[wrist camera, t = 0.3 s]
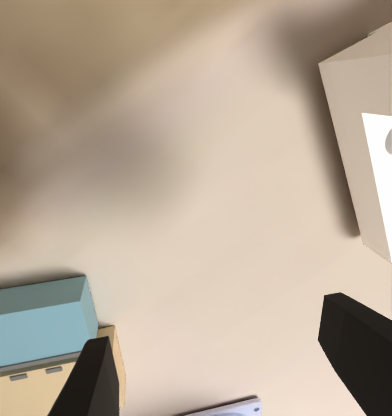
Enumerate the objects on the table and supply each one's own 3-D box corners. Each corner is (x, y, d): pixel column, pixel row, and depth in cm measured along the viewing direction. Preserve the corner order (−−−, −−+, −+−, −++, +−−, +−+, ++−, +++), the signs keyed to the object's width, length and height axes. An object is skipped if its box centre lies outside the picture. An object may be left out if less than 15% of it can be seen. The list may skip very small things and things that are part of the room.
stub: (98, 324, 20) (94, 354, 18) (3, 341, 19) (-15, 376, 17) (86, 275, 18) (79, 302, 16) (-18, 292, 17) (-41, 323, 15)
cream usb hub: (125, 375, 22) (124, 407, 20) (-33, 409, 21) (-54, 449, 18) (114, 325, 20) (112, 355, 18) (-62, 358, 19) (-89, 396, 16)
